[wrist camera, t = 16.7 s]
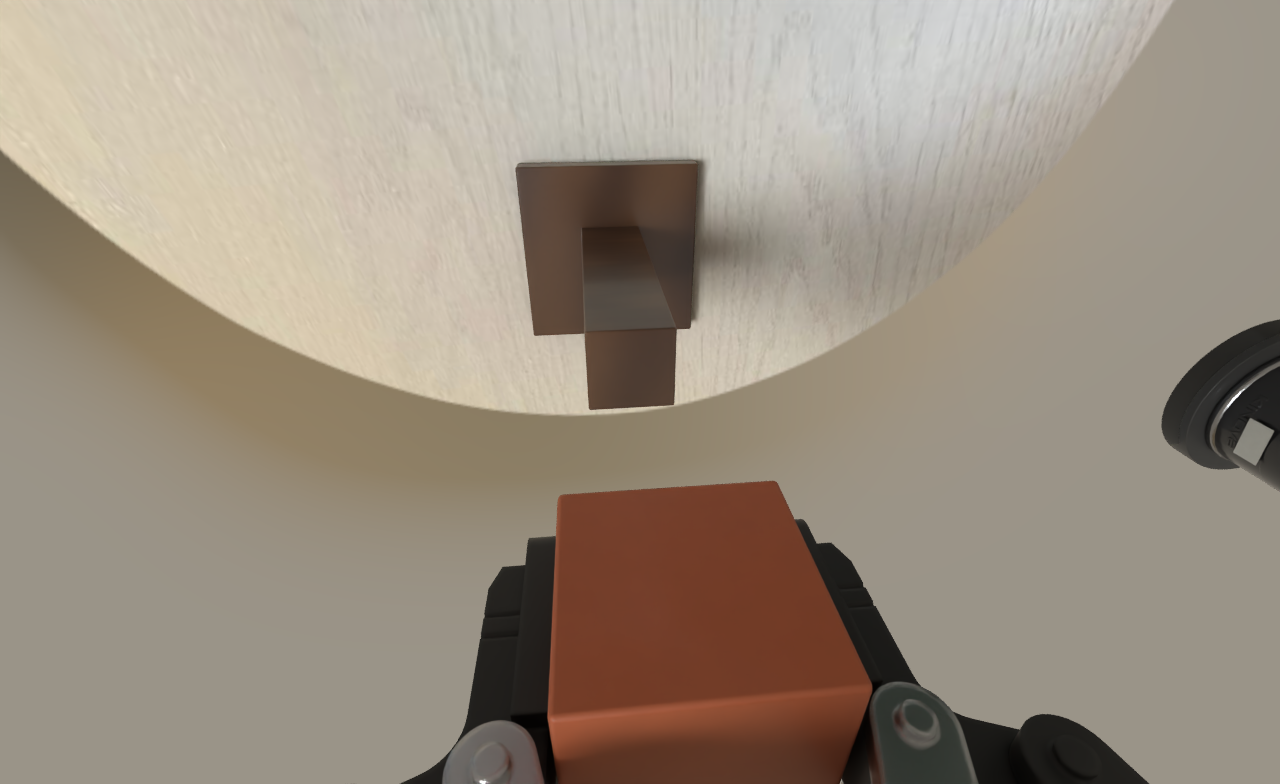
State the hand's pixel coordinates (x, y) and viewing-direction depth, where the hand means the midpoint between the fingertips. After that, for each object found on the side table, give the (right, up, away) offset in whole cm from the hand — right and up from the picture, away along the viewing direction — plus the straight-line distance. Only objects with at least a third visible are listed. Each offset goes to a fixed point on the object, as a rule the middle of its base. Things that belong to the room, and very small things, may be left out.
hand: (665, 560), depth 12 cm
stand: (-2, +11, +19) cm, 22 cm away
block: (0, 0, 0) cm, 0 cm away
